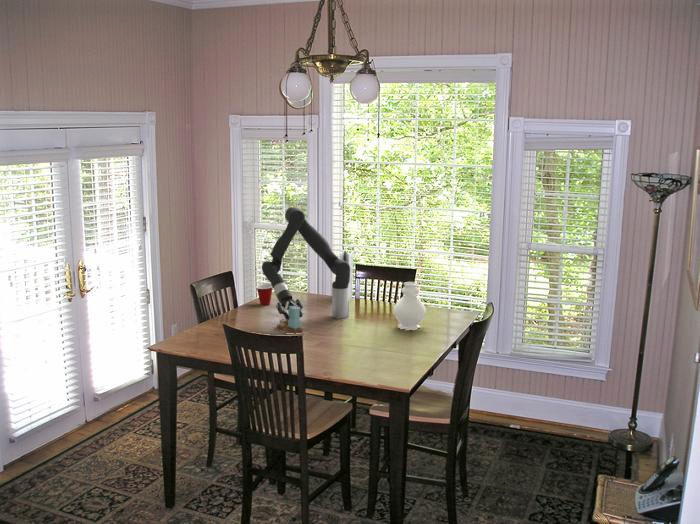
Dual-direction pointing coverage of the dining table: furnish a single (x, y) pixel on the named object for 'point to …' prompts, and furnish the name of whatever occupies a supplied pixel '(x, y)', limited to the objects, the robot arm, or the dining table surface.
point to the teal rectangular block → (293, 317)
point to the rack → (292, 330)
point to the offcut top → (283, 321)
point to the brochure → (349, 260)
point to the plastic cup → (264, 294)
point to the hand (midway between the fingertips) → (294, 318)
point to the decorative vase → (409, 308)
